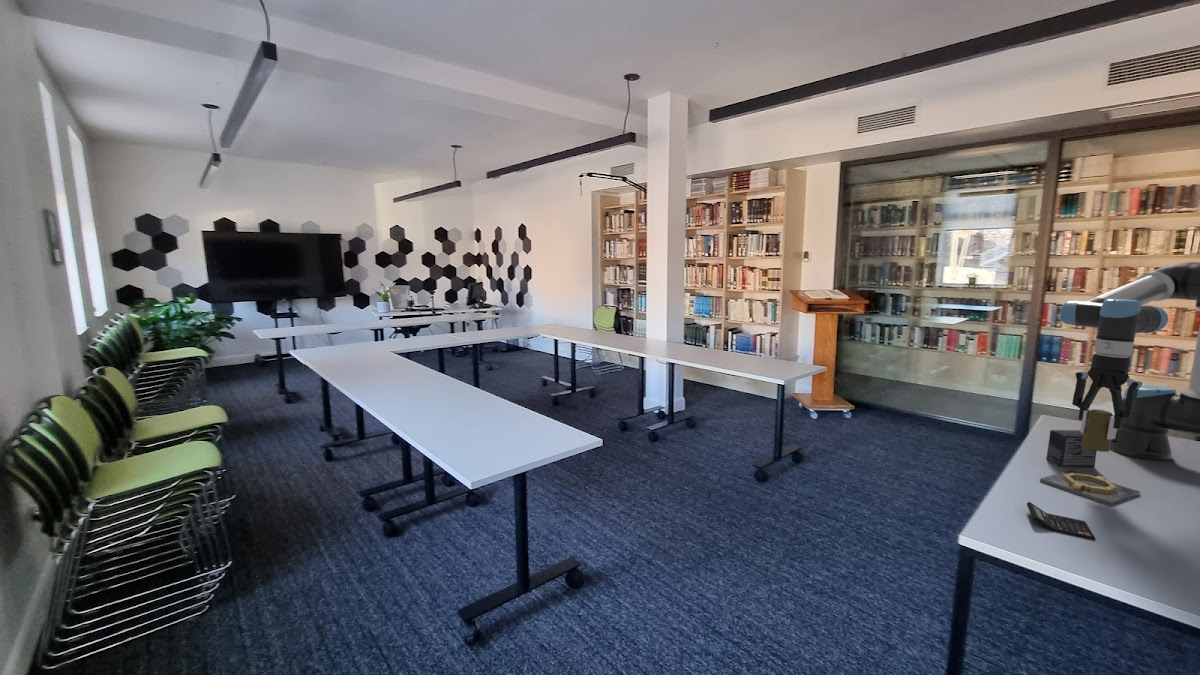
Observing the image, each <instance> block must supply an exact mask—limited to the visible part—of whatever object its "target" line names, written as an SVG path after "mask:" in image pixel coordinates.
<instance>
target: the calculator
mask: <svg viewBox="0 0 1200 675" xmlns="http://www.w3.org/2000/svg"><path fill="white" fill-rule="evenodd" d="M1026 506H1027V508H1028V511H1029V513H1030V516H1031V518H1032V520H1034V521H1036V522H1037V523H1038V524H1040V525H1042V526H1043V527H1045V529H1046V528H1047V529H1048V530H1049V531H1051V532H1054V533H1060V534H1065V535H1067V536H1068V535H1069V536H1074V537H1076V538H1077V537H1078V538H1083V539H1086V540H1091V541H1096V537H1095V536H1094V534H1093V532H1092V530H1091V529H1090V527H1089V526H1088V524H1087V522H1086V521H1085V520H1081V519H1078V518H1077V519H1076V518H1071V517H1066V516H1061V515H1056V514H1053V513H1049V512H1048V513H1047V512H1046V511H1045V510H1042V509H1041V508H1039V506H1036V505H1035V504H1034V503H1032V502H1030V501H1028V502H1027V503H1026Z"/></svg>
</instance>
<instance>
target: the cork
mask: <svg viewBox="0 0 1200 675" xmlns="http://www.w3.org/2000/svg"><path fill="white" fill-rule="evenodd" d="M1090 410H1091V411H1089V413H1088V418H1089V420H1090V421H1089V424H1088V426H1087V429H1086V432H1085V434H1084V437H1083V440H1082V442H1081V446H1082V447H1084V448H1087V449H1091V450H1095V451H1097V452H1103V453H1105V452H1107V453H1108V452H1110V450H1111V449H1110V440H1109V439H1107V434H1108V428H1109V423H1110V417H1111V416H1114V415H1113V413H1112V412H1111V411H1107V410H1104V409H1090Z"/></svg>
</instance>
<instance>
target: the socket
mask: <svg viewBox="0 0 1200 675" xmlns="http://www.w3.org/2000/svg"><path fill="white" fill-rule="evenodd" d="M1040 483H1042V484H1043V483H1044V484H1045V485H1048V486H1052V487H1055V488H1057V489H1061V490H1064V491H1065V492H1069V493H1072V494H1076V495H1078V496H1080V497H1084V498H1087V499H1090V500H1092V501H1096V502H1098V503H1102V504H1103V505H1104V504H1105V505H1107V506H1110V507H1111V506H1113V505H1115V504H1119V503H1121V502H1124V501H1127V500H1129V499H1133V498H1135V497H1137V496H1140V493H1141V491H1139V490H1136V489H1134V488H1130V487H1127V486H1124V485H1119V484H1117V483H1113V482H1111V481H1110V480H1107V479H1106V477H1104V476H1100V475H1098V476H1094V475H1091V474H1085V473H1083V472H1079V471H1076V470H1072V469H1068V470H1064V471H1061V472H1057V473H1054V474H1050V475H1047V476H1044V477H1041V478H1040Z"/></svg>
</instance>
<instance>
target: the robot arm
mask: <svg viewBox="0 0 1200 675" xmlns="http://www.w3.org/2000/svg"><path fill="white" fill-rule="evenodd" d="M1167 299H1168V300H1169V299H1172V300H1173V299H1177V300H1189V301H1196V302H1195V308H1196V309H1197V310H1198V311H1200V262H1198V261H1197V262H1196V261H1195V262H1194V261H1193V262H1192V261H1191V262H1189V261H1188V262H1183V263H1176V264H1171V265H1167V266H1164V267H1160V268H1156V269H1154V270H1151V271H1148V272H1145V273H1144V274H1141V275H1140V276H1138V277H1137V279H1136V280H1135V281H1131V282H1129V283H1127V284H1124V285H1121V286H1120V287H1118V288H1117V287H1116V288H1114V289H1112V290H1109V291H1107V292H1104V293H1102V294H1100V295H1097V296H1095V297H1092V298H1090V299H1087V300H1085V301H1083V300H1067V301H1066V302H1064V303H1063V305H1062V306H1061V307H1060V311H1059V318H1060V321H1061V322H1062V323H1063V324H1065V325H1071V326H1075V327H1085V328H1094V329H1097V331H1096V336H1095V342H1094V345H1093V346H1094V348H1093V352H1094V353H1093V355H1092V359H1091V364H1090V369H1089V370H1087V371H1079V372H1078V371H1077V372H1075V378H1076V383H1075V389H1074V393H1073V398H1072V402H1071V403H1072V404H1071V405H1073V406H1076V407H1077V408H1079V411H1078V412H1079V413H1078V420H1079V421H1081V426H1080V432H1082V433H1085V432H1086V429H1087V426H1088V424H1089V421H1090V420H1089V418H1088V413H1089V411H1091V410H1092V409H1091V407H1090V406H1092V404H1093V402H1094V400H1095V398H1096V396H1097V394H1098V393H1099V392H1100V390H1101V389H1102V388H1106V389H1108V390H1109V393H1110V396H1111V402H1112V407H1113V413H1114V415H1113V416H1111V417H1110V423H1109V428H1108V434H1107V439H1109V440H1110V450H1112V451H1113V452H1117V453H1119V454H1123V455H1125V456H1129V457H1134V458H1139V459H1143V460H1150V461H1151V460H1152V461H1169V460H1171V459H1172V455H1173V454H1172V453H1173V451H1172V447H1171V444H1170V441H1169V437H1168V433H1169V430H1171V431H1175V432H1179V433H1184V434H1188V435H1191V436H1196V437H1199V438H1200V325H1198V326H1199V327H1198V333H1197V337H1196V343H1195V344H1196V345H1195V350H1194V356H1193V361H1192V366H1191V373H1190V377H1189V384H1188V387H1187V388H1185V389H1182V390H1180V392H1179V393H1180V394H1177V393H1178V392H1177V390H1176V388H1171V387H1166V386H1155V385H1143V383H1142V381H1139V380H1138V381H1136V380H1134V379H1132V378H1130V375H1129V371H1130V370H1129V369H1130V367H1131V366H1130V365H1131V362H1132V361H1131V360H1132V359H1131V358H1130V357H1131V356H1132V355H1133V349H1134V342H1135V337H1136V334H1151V333H1155V332H1158V331H1161V330H1163V329H1165V327H1166V326H1167V324H1168V322H1169V315H1168V313H1167V312H1166V311H1165V310H1164V309H1162V308H1161V307H1159V306H1154V305H1146V304H1149V303H1150V302H1160V301H1165V300H1167ZM1088 378H1090V380H1091V381H1092V383H1091V385H1090V386H1089V389H1088V391H1087V393H1086V395H1085V396H1084V394H1085V389H1086V386H1087V379H1088ZM1124 384H1126V387H1127V388H1126V389H1125V390H1124V394H1123V396H1122V391H1123V390H1122V386H1123V385H1124Z"/></svg>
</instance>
